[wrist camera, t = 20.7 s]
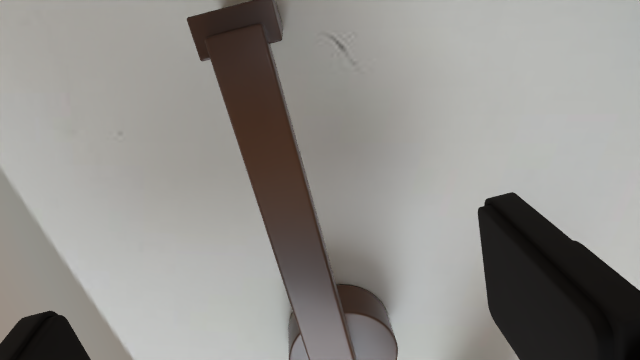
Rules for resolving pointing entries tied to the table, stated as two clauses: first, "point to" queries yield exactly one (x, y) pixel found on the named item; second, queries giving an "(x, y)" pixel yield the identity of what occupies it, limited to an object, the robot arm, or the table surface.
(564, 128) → the table surface
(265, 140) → the ladle
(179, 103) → the table surface
